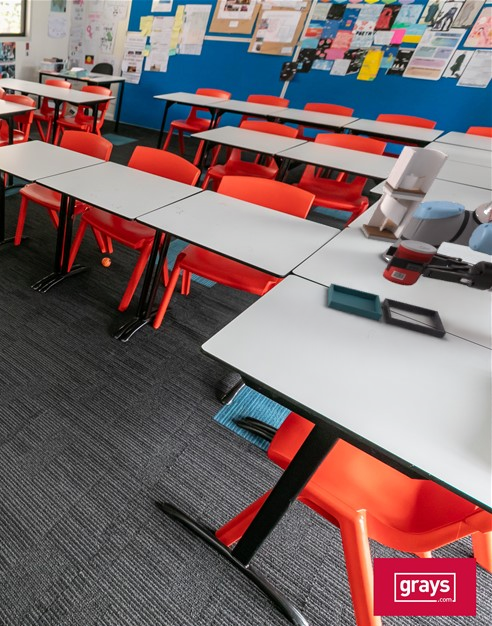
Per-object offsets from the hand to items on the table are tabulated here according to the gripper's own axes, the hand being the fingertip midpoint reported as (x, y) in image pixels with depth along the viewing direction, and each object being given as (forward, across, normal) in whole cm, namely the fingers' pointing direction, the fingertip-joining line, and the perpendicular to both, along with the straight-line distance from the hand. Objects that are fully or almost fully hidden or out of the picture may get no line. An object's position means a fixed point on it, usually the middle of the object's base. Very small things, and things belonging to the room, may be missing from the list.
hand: (389, 255), depth 122 cm
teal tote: (+2, 0, -18) cm, 18 cm away
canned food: (-5, 0, -7) cm, 8 cm away
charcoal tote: (-13, 0, -18) cm, 22 cm away
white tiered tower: (-11, +74, -18) cm, 77 cm away
